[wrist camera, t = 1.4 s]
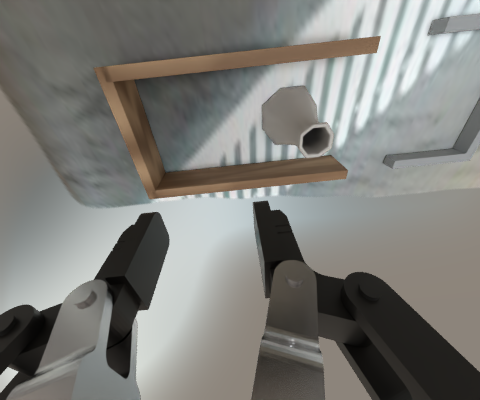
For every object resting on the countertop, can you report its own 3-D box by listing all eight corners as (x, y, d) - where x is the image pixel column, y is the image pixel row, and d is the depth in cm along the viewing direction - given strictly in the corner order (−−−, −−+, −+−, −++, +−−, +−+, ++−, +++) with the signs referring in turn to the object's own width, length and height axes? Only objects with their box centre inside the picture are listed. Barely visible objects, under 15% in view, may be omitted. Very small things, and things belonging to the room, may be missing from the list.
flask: (252, 101, 25) (265, 119, 16) (309, 73, 23) (354, 79, 15) (270, 152, 29) (288, 187, 20) (320, 131, 27) (360, 160, 19)
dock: (433, 20, 21) (450, 16, 19) (539, 8, 21) (565, 4, 19) (383, 163, 30) (392, 168, 29) (456, 155, 30) (469, 160, 29)
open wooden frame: (118, 66, 22) (93, 67, 18) (351, 41, 22) (380, 36, 18) (160, 180, 30) (149, 199, 26) (329, 162, 30) (345, 178, 26)
